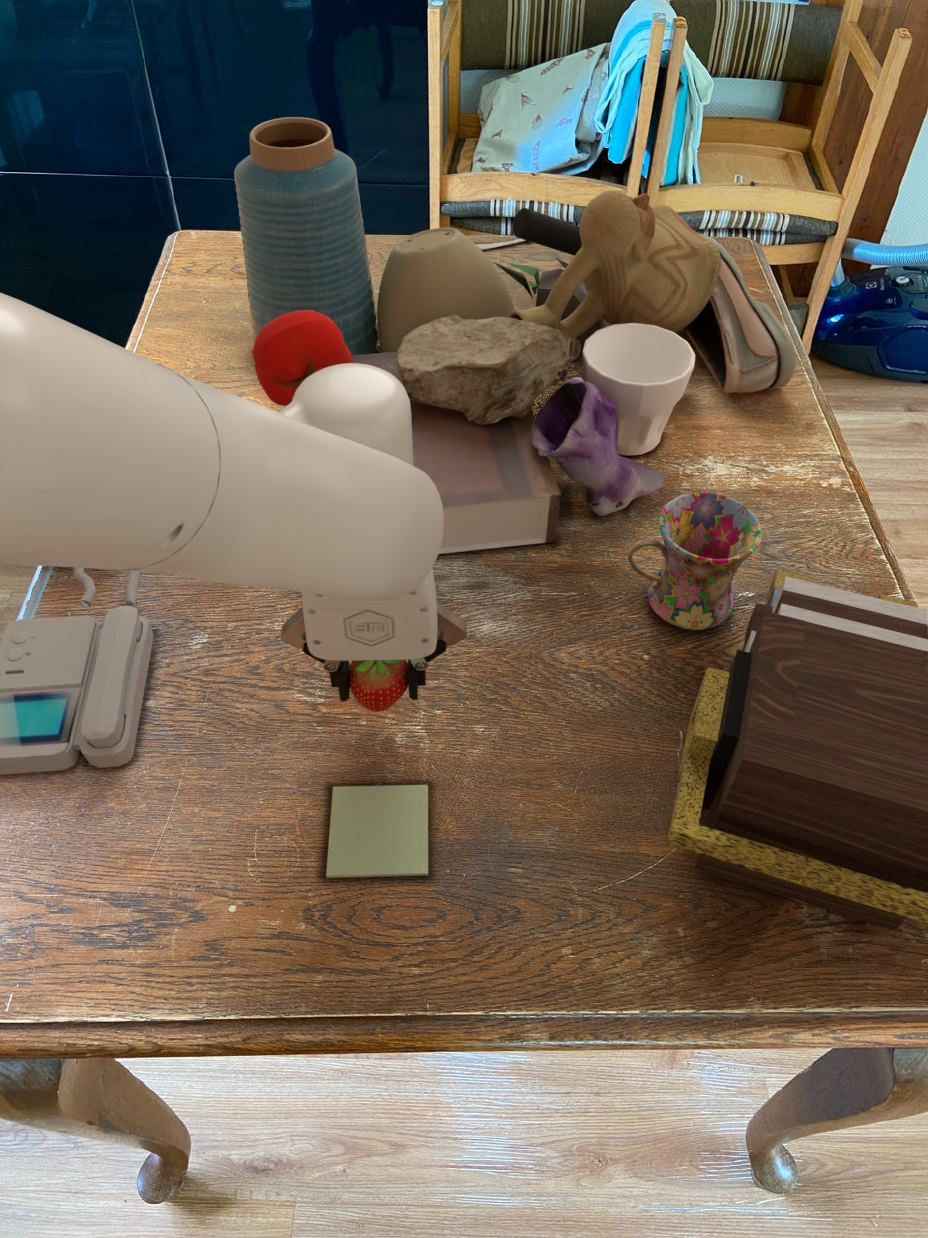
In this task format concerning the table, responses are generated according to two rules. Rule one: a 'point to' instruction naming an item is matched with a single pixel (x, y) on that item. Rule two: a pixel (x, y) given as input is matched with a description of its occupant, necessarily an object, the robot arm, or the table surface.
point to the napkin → (378, 831)
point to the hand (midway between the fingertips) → (379, 686)
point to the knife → (498, 244)
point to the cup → (638, 379)
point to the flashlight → (547, 231)
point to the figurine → (591, 447)
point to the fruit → (378, 682)
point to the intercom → (73, 686)
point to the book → (481, 474)
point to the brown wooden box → (816, 755)
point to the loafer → (741, 336)
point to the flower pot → (436, 284)
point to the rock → (484, 365)
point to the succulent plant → (545, 288)
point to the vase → (304, 230)
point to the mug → (699, 558)
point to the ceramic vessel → (632, 269)
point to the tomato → (296, 352)
